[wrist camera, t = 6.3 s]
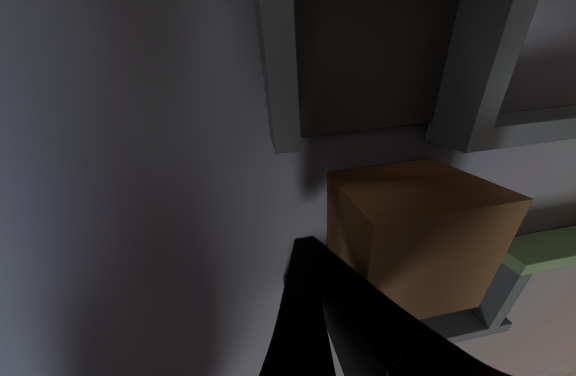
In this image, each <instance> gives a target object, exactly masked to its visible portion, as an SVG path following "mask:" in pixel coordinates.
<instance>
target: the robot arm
mask: <svg viewBox="0 0 576 376" xmlns="http://www.w3.org/2000/svg"><path fill="white" fill-rule="evenodd" d="M327 330H328V332H327ZM328 333H329V335H330V338H331V341H332V344H333V346H334V349H335V352H336V354H337V357H338V360H339V362H340V365H341V368H342V371H343V373H344V376H512V375H509V374H506V373H503V372H501V371H499V370H497V369H494V368H492V367H490V366H488V365H486V364H484V363H483V362H481V361H479V360H477V359H476V358H474V357H473V356H471V355H469V354H468V353H466V352H465V351H463V350H462V349H461V348H459V347H458V346H456V345H455V344H453V343H452V342H450V341H449V340H447V339H446V338H444V337H443V336H442V335H440V334H439V333H437V332H436V331H434V330H433V329H431V328H430V327H428V326H427V325H426V324H424V323H423V322H421V321H420V320H418V319H417V318H415V317H414V316H413V315H411V314H410V313H408V312H407V311H406V310H404V309H403V308H402V307H400V306H399V305H398V304H396V303H395V302H394V301H393V300H391V299H390V298H389V297H387V296H386V295H385V294H384V293H383V292H381V291H380V290H379V289H377V288H376V287H375V286H374V285H373V284H371V283H370V282H369V281H368V280H367V279H365V278H364V277H363V276H362V275H360V274H359V273H358V272H357V271H356V270H354V269H353V268H352V267H351V266H349V265H348V264H347V263H346V262H345V261H343V260H342V259H341V258H340V257H338V256H337V255H336V254H335V253H334V252H332V251H331V250H330V249H329V248H327V247H326V246H325V245H324V244H323V243H321V242H320V241H319V240H318V239H316V238H315V237H314V236H309V237H304V238H297V239H295V241H294V245H293V250H292V254H291V259H290V263H289V268H288V272H287V277H286V281H285V285H284V290H283V294H282V299H281V303H280V309H279V312H278V316H277V321H276V324H275V328H274V332H273V336H272V339H271V342H270V345H269V348H268V351H267V355H266V357H265V360H264V363H263V366H262V369H261V371H260V374H259V376H336V374H335V369H334V363H333V358H332V353H331V348H330V343H329V337H328Z"/></svg>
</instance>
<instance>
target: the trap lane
mask: <svg viewBox="0 0 576 376" xmlns="http://www.w3.org/2000/svg"><path fill="white" fill-rule="evenodd" d="M537 3H538V0H255V5H256V13H257V22H258V31H259V40H260V48H261V57H262V66H263V74H264V83H265V92H266V101H267V109H268V118H269V127H270V135H271V141H272V144H273V147H274V150H275V153H276V154H280V153H288V152H297V151H301V138H300V137H309V136H318V135H327V134H336V133H344V132H353V131H362V130H371V129H380V128H388V127H397V126H406V125H415V124H423V123H428V127H427V132H426V137H425V141H428V142H432V143H435V144H438V145H441V146H445V147H448V148H451V149H454V150H458V151H461V152H464V153H469V152H476V151H484V150H491V149H499V148H507V147H514V146H522V145H529V144H537V143H545V142H552V141H560V140H567V139H575V138H576V105H573V106H564V107H555V108H546V109H537V110H529V111H520V112H511V113H502V114H498V113H499V110H500V108H501V105H502V102H503V99H504V96H505V93H506V91H507V88H508V85H509V82H510V79H511V77H512V74H513V71H514V68H515V65H516V62H517V60H518V57H519V54H520V51H521V48H522V45H523V43H524V40H525V37H526V34H527V31H528V29H529V26H530V23H531V20H532V17H533V14H534V12H535V9H536V6H537ZM572 265H576V225H575V226H569V227H564V228H558V229H553V230H547V231H542V232H536V233H531V234H525V235H520V236H515V237H514V239H513V241H512V242H511V244H510V246H509V248H508V250H507V252H506V254H505V256H504V258H503V260H502V262H501V264H500V266H499V268H498V270H497V272H496V274H495V276H494V278H493V280H492V282H491V283H490V285H489V287H488V289H487V291H486V293H485V295H484V297H483V299H482V301H481V303H480V305H479V307H475V308H471V309H466V310H462V311H457V312H452V313H448V314H443V315H439V316H434V317H430V318H425V319H420V321H421V322H423V323H424V324H426V325H427V326H428V327H430V328H431V329H433V330H434V331H436V332H437V333H439V334H440V335H442V336H443V337H444V338H446V339H447V340H449V341H450V342H452V343H457V342H461V341H465V340H469V339H474V338H478V337H482V336H487V335H491V334H495V333H500V332H504V331H508V330H509V328H510V327H511V325H512V323H511V322H510V321H509V320H508V319H507V318H506V315H507V314H508V312H509V311H510V309H511V307H512V306H513V304H514V303H515V301H516V299H517V298H518V296H519V295H520V293H521V291H522V290H523V288H524V287H525V285H526V284H527V282H528V280H529V279H530V277H531V276H532V274H533V273H537V272H542V271H547V270H552V269H557V268H562V267H567V266H572ZM283 280H284V285H285V281H286V278H283Z"/></svg>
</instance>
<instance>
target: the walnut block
mask: <svg viewBox="0 0 576 376" xmlns="http://www.w3.org/2000/svg"><path fill="white" fill-rule="evenodd" d="M533 200H534V199H532V198H530V197H527V196H525V195H522V194H520V193H517V192H515V191H512V190H510V189H507V188H504V187H502V186H499V185H497V184H494V183H492V182H489V181H487V180H484V179H482V178H479V177H477V176H474V175H472V174H469V173H467V172H464V171H462V170H459V169H457V168H454V167H452V166H449V165H447V164H444V163H441V162H439V161H436V160H434V159H431V158H429V159H421V160H414V161H407V162H399V163H392V164H385V165H378V166H370V167H363V168H356V169H348V170H341V171H334V172H327V248H329V249H330V250H331V251H332V252H334V253H335V254H336V255H337V256H338V257H340V258H341V259H342V260H343V261H345V262H346V263H347V264H348V265H349V266H351V267H352V268H353V269H354V270H356V271H357V272H358V273H359V274H360V275H362V276H363V277H364V278H365V279H367V280H368V281H369V282H370V283H371V284H373V285H374V286H375V287H376V288H377V289H379V290H380V291H381V292H383V293H384V294H385V295H386V296H387V297H389V298H390V299H391V300H393V301H394V302H395V303H396V304H398V305H399V306H400V307H402V308H403V309H404V310H406V311H407V312H408V313H410V314H411V315H413V316H414V317H415V318H417V319H418V320H420V319H425V318H430V317H434V316H439V315H443V314H448V313H452V312H457V311H462V310H466V309H471V308H475V307H479V305H480V303H481V301H482V299H483V297H484V295H485V293H486V291H487V289H488V287H489V285H490V283H491V282H492V280H493V278H494V276H495V274H496V272H497V270H498V268H499V266H500V264H501V262H502V260H503V258H504V256H505V254H506V252H507V250H508V248H509V246H510V244H511V242H512V241H513V239H514V237H515V235H516V233H517V231H518V229H519V227H520V225H521V223H522V221H523V219H524V217H525V215H526V213H527V211H528V209H529V207H530V205H531V203H532V201H533Z"/></svg>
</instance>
